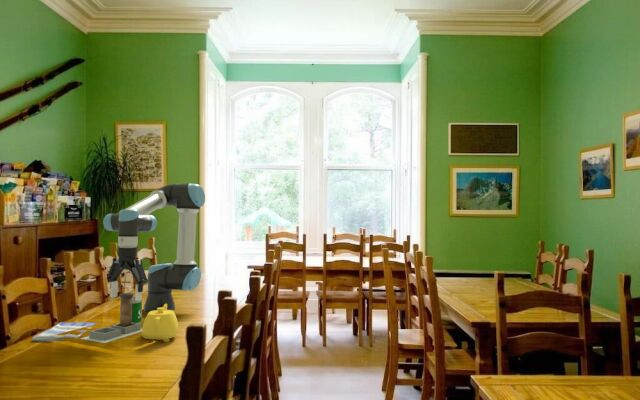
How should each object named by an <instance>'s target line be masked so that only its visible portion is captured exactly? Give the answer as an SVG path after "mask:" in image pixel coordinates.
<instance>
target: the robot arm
mask: <svg viewBox="0 0 640 400" xmlns="http://www.w3.org/2000/svg"><path fill="white" fill-rule="evenodd" d="M205 202H206V195H205V191H204V188H203V187H202V186H201V185H200V184H197V183H170V184H166V185H164V186H163V185H162V186H161V187H159V188H157V189H154V190H153V191H151V192H150V193H149V195H148V196H147V197H144V198H143V199H141V200H139V201H137V202H135V203H134V204H132V205H129V206H128V207H127V208H124V209H121V210H119V212H117V213H108V214H106V215H105V216H104V217H103V220H102V221H103V222H102V224H103V228H104V229H105V230H106V231H110V232H111V231H112V232H118V235H117V237H118V238H117V246H118V247H117V257H113V258H112V263H111V265H110V268H109V271H108V273H107V276H106V280H108V281H109V283H110V287H109V289H110V298H112V299H113V298H117V297H118V290H119V289H118V288H119V287H118V285H119V284H118V283H119V281H118V278H119V277H120V276H121V274H122V272H123V271H124V270H125V271H126V270H127V271H129V272H130V273H131V275H132V277H133V278H134V280H135V281H136V284H135V287H134V288H135V293H134V297H135V301H138V300H142V301H143V296H142V295H143V292H144V291H143V290H144V284H145V283H147V295H146V299H145V302H144V304H143V311H144V312H147V313H149V312H150V311H154V310H157V308H160V307H163V306H164V304H167V310H173V311H174V310H175V309H176V304H175V301H174V296H173V290H174V291H176V290H177V291H184V292H186V291H194V290H195V289H197V287H198V286H199V284H200V282H201V280H202V279H201V278H202V271H201V268H199V267H198V263H197V262H196V261H195V250H196V234H197V233H196V231H197V215H198V213H199V212H200V210H201V207H203V206H204V205H205ZM165 207H176V208H175V209H176V210H177V212H178V231H177V245H176V260H175V261H174V262H173V263H170V262H168V263H160V264H153V265H150V266H149V267H148V271H147V274H146V271H145V269H144V266H143V260H142V258H138V259H136V257H137V256H138V247H137V246H138V244H139V243H138V242H139V241H138V240H139V237H138V236H139V233H142V232H143V233H148V232H149V233H150V232H152V231H154V230H156V228H157V225H158V221H157V220H158V219H156V217H155V216H154V215H152V214H151V213H153V212H154V211H156V210H160V209H163V208H165Z"/></svg>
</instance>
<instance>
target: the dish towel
mask: <svg viewBox="0 0 640 400" xmlns="http://www.w3.org/2000/svg"><path fill="white" fill-rule="evenodd" d="M94 325H99V323H97V322H63V321H61V322H59V323H57V324H55V325H53V327H51V328H50V329H46V330H45V331H43V332H41V333H39V334H35V335H34V336H33V337H32V339H31V342H32V341H33V342H67V340H66V339H78V338H79V337H80V336H82V335H83V334H84V333H85V332H87V330H85V329H84V330H78V329H82V328H86V329H92V328H93V327H92V326H94ZM74 330H77V332H78V333H79V332H80V333H79V334H78V335H76V334H71V333H67V332H71V331H74ZM63 333H67V334H63ZM59 334H62V335H59Z"/></svg>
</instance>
